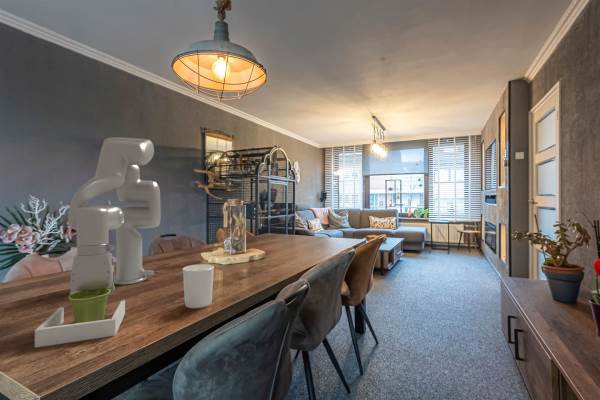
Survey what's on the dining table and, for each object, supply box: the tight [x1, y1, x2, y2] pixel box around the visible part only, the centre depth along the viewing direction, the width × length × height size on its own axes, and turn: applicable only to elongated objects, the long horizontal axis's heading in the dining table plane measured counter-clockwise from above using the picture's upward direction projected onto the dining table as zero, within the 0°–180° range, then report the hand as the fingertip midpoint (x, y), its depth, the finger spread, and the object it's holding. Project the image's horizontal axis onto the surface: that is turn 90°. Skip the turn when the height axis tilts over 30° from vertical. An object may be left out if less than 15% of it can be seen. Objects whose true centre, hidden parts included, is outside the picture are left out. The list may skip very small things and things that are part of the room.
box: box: [34, 299, 126, 348], centre depth 78 cm, size 16×16×4 cm
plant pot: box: [67, 289, 111, 324], centre depth 81 cm, size 9×9×9 cm
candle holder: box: [182, 263, 215, 309], centre depth 97 cm, size 10×10×12 cm
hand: (93, 313), depth 85 cm, fingers closed
